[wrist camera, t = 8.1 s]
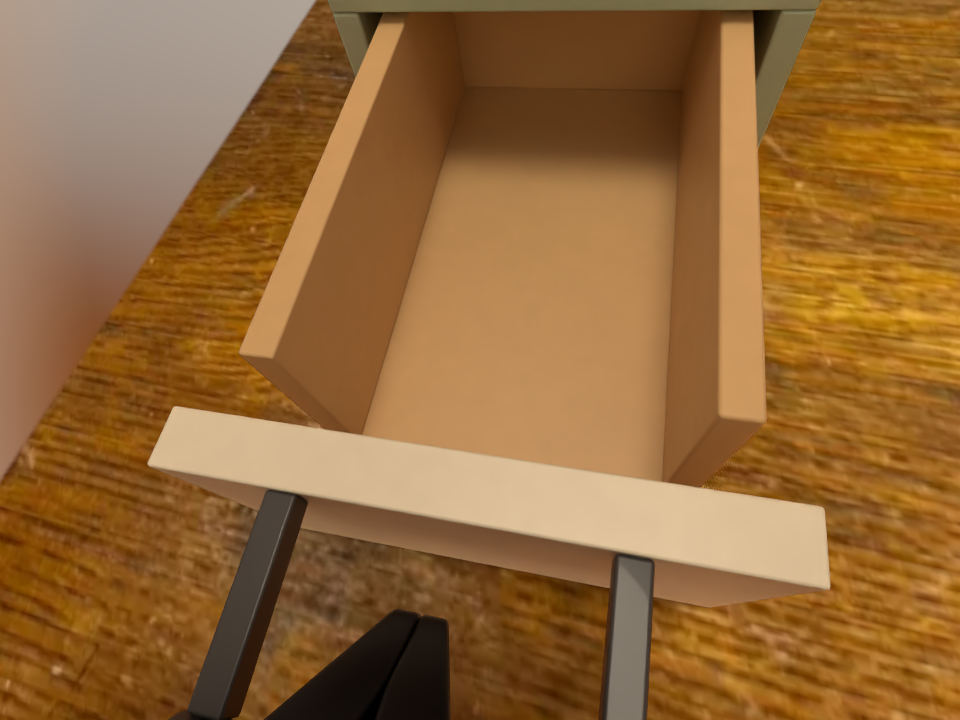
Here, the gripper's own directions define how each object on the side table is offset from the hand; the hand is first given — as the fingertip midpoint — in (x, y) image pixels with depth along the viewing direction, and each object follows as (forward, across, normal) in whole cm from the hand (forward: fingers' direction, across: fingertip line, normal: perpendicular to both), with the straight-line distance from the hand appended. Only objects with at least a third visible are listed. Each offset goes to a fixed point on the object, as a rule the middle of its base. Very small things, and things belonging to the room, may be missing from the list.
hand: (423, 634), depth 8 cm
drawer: (+11, 0, -1) cm, 11 cm away
